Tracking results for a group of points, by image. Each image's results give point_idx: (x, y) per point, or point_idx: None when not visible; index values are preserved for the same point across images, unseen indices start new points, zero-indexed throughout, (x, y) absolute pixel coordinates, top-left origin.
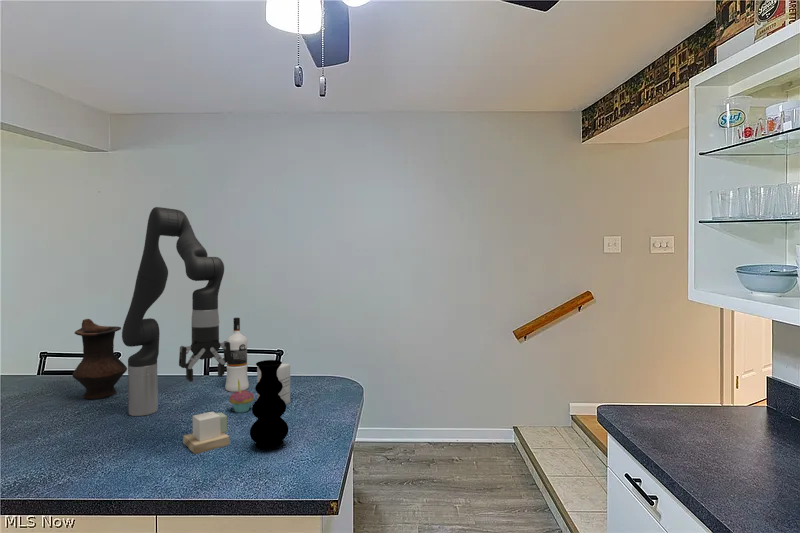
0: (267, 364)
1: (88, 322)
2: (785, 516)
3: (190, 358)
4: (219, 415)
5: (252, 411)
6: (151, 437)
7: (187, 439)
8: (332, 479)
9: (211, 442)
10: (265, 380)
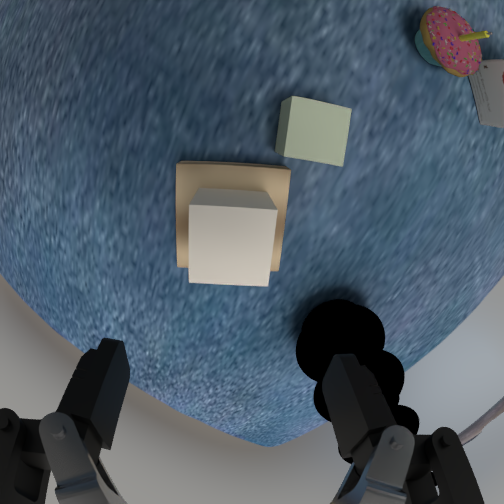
0: None
1: None
2: None
3: (66, 500)
4: (329, 135)
5: (318, 387)
6: (134, 50)
7: (176, 205)
8: (300, 432)
9: None
10: None
